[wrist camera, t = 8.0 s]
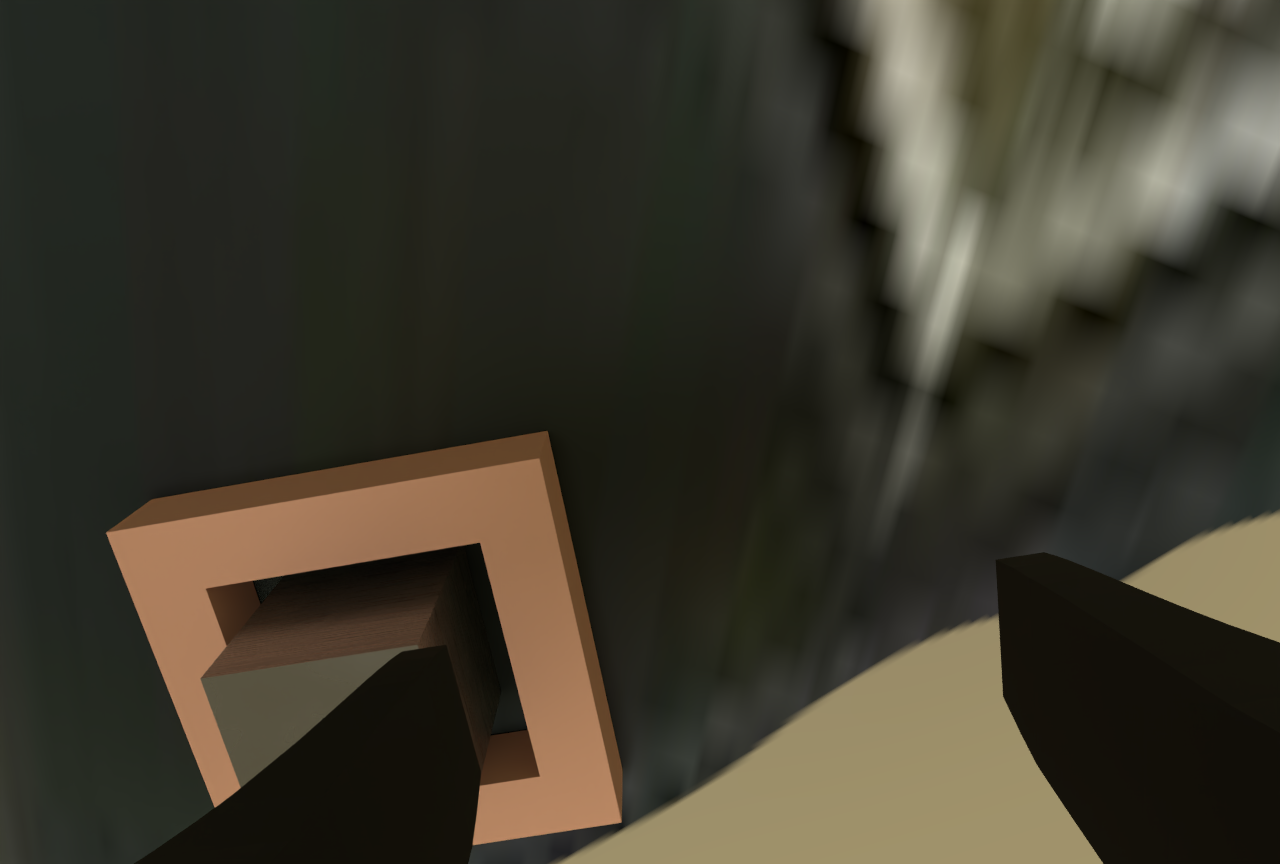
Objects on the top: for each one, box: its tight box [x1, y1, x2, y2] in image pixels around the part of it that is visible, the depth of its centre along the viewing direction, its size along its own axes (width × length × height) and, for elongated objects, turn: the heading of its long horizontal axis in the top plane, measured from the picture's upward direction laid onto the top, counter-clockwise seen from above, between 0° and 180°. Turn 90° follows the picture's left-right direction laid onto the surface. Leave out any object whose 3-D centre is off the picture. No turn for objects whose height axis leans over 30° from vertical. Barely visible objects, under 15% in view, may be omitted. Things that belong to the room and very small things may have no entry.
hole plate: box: [106, 431, 622, 845], centre depth 22 cm, size 10×10×2 cm
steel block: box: [200, 545, 501, 787], centre depth 21 cm, size 4×4×5 cm
